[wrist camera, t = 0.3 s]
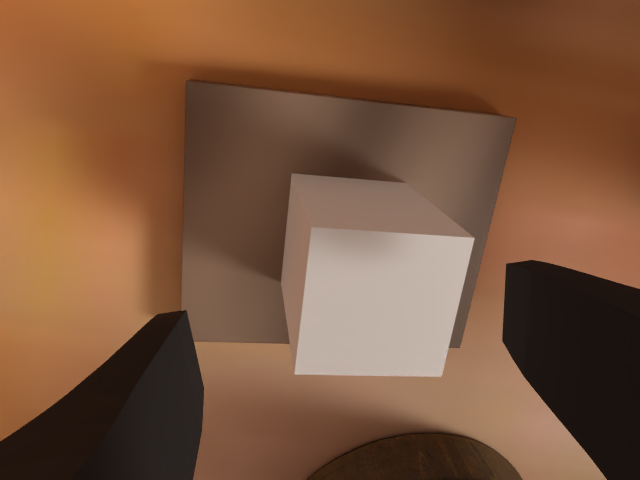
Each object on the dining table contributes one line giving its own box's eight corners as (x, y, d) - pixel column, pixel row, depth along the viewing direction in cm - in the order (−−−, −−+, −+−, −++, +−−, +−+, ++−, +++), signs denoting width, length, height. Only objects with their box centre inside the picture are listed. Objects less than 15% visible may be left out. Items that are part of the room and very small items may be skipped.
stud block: (501, 114, 19) (589, 135, 14) (449, 333, 23) (506, 412, 18) (190, 79, 17) (166, 89, 12) (184, 325, 21) (163, 412, 16)
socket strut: (406, 182, 18) (474, 238, 13) (387, 287, 20) (441, 376, 14) (291, 173, 18) (311, 227, 12) (281, 282, 19) (294, 374, 14)
